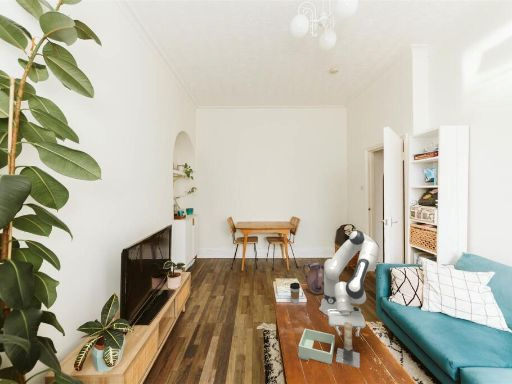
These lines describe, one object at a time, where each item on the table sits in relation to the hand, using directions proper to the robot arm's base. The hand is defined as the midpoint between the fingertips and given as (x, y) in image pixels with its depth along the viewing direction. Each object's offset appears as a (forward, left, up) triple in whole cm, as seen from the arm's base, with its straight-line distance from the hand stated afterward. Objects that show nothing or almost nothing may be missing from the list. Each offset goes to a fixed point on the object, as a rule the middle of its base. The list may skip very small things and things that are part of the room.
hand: (348, 335), depth 137 cm
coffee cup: (-54, -44, -14) cm, 71 cm away
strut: (+1, 0, -12) cm, 12 cm away
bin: (+1, -17, -13) cm, 22 cm away
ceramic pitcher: (-79, -32, -14) cm, 87 cm away
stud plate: (+1, 0, -13) cm, 13 cm away
